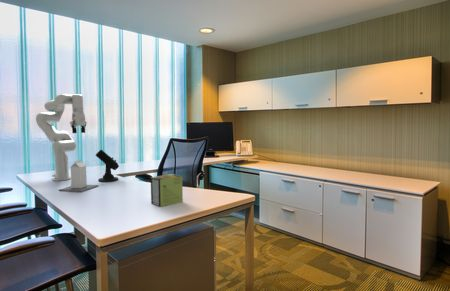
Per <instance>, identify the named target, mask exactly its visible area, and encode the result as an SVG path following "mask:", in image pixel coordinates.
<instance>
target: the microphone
mask: <svg viewBox="0 0 450 291" xmlns="http://www.w3.org/2000/svg"><path fill="white" fill-rule="evenodd" d="M95 157H96V158H97V159H99V160H100V161H101V162H102V163H104V164H105V170H104V173H103V175H102V177H100V178H98V180H97V181H98V182H99V183H112V182H117V181H119V177H117V176H114V174H112V170H114V171H116V170H117V169H119V167H120V165H119V164H118V162H117V159H114V157H111V155H108V153H106V151H104V150H103V149H100V150H98V151H97V152H96V153H95Z"/></svg>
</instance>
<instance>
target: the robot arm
mask: <svg viewBox="0 0 450 291" xmlns="http://www.w3.org/2000/svg"><path fill="white" fill-rule="evenodd" d="M65 105H71V106H72V107H71V108H72V113H71V121H70V122H69V124H70V127H71V131H72V134H77V133H78V132H77V131H78V130H77V126H80V130H81V132H80V133H81V134H83V133H84V134H85V133H86V126H87V121H86V115H85V112H84V96H83V95H82V94H78V93H75V94H73V93H72V94H68V93H62V94H61V93H60V94H57V95H56V96H54V98H53V99H52V100H49V101H47V102H45V103H44V109H45V110H46V111H48V112H39V113H37V115H35V116H36V117H35V121H36V124H37V126H38V127H39V129H40V130H42V132H43V133H44V135H45V136H46V138H48V140H49V141H50V142H51V143H52V150H53V156H54V169H55V170H54V171H55V172H54V173H52V177H53V181H54V182H56V181H57V182H58V181H59V182H60V181H61V182H62V181H69V180H71V176H70V172H69V170H70V169H69V156H68V155H67V153H69V152H74V151H76V149H77V144H76V142H75V140H74V139H73V137H72V136H71V134H70V133H69V132H68V131H65V130H57V129H56V128H55V126H54V125H52V124H54V123H59V122H60V121H61V118H62V116H63V114H64V112H65ZM51 123H52V124H51Z"/></svg>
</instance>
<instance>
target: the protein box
mask: <svg viewBox="0 0 450 291" xmlns="http://www.w3.org/2000/svg"><path fill="white" fill-rule="evenodd" d="M150 196H151V197H150V200H151V205H154V206H157V207H160V208H162V207H166V206H170V205H174V204H178V203H183V200H184V199H183V198H184V197H183V175H180V174H174V173H169V174H163V175H158V176H151V177H150Z"/></svg>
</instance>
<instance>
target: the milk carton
mask: <svg viewBox="0 0 450 291" xmlns="http://www.w3.org/2000/svg"><path fill="white" fill-rule="evenodd" d="M70 177H71V179H70V184H71V185H70V186H71V188H83V187H86V186H87V185H88V182H87V165H86V164H85V163H84V162H83V161H82V159H80V160H76V161H74V162H73V164H72V165H71V166H70Z"/></svg>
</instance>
